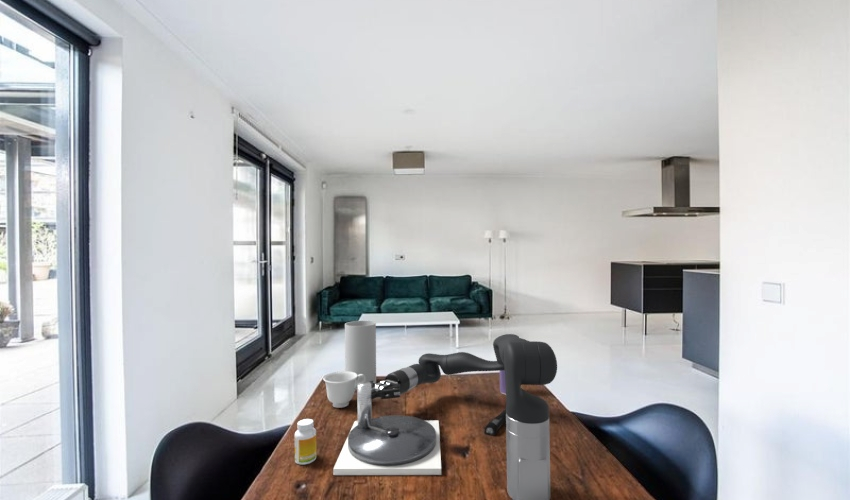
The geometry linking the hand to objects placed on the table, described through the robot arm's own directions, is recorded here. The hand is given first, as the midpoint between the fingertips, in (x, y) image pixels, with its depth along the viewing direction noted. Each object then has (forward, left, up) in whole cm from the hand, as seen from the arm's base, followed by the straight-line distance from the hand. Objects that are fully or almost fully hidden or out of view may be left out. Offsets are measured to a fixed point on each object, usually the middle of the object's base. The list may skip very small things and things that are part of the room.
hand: (364, 397), depth 110 cm
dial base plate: (-8, -9, -11) cm, 16 cm away
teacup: (+22, +11, -11) cm, 27 cm away
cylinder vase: (+42, +9, -11) cm, 45 cm away
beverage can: (+32, -49, -11) cm, 60 cm away
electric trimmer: (+5, -40, -11) cm, 42 cm away
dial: (-8, -9, -9) cm, 15 cm away
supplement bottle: (-14, +13, -11) cm, 22 cm away
